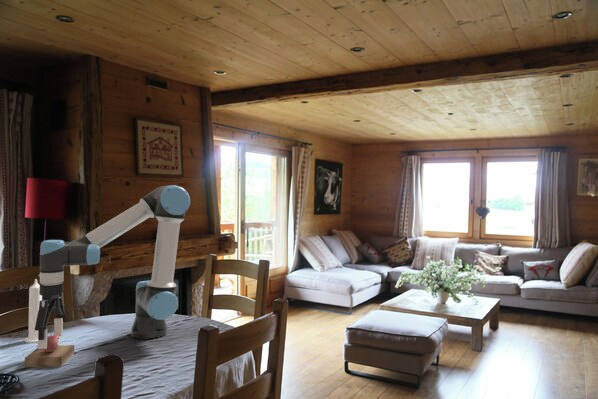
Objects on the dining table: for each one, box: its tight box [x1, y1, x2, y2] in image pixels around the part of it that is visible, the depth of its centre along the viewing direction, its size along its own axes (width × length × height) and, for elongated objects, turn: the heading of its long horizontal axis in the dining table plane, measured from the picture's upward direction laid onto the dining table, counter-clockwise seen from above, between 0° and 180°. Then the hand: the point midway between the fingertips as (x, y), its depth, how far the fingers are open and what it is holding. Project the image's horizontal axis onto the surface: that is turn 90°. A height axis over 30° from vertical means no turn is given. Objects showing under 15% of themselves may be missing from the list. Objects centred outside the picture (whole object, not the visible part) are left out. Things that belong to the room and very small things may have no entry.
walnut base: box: [24, 344, 75, 368], centre depth 161 cm, size 12×12×4 cm
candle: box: [24, 278, 43, 344], centre depth 182 cm, size 7×7×25 cm
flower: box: [36, 333, 61, 352], centre depth 160 cm, size 8×8×6 cm
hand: (50, 341), depth 161 cm, fingers open, 13 cm apart
